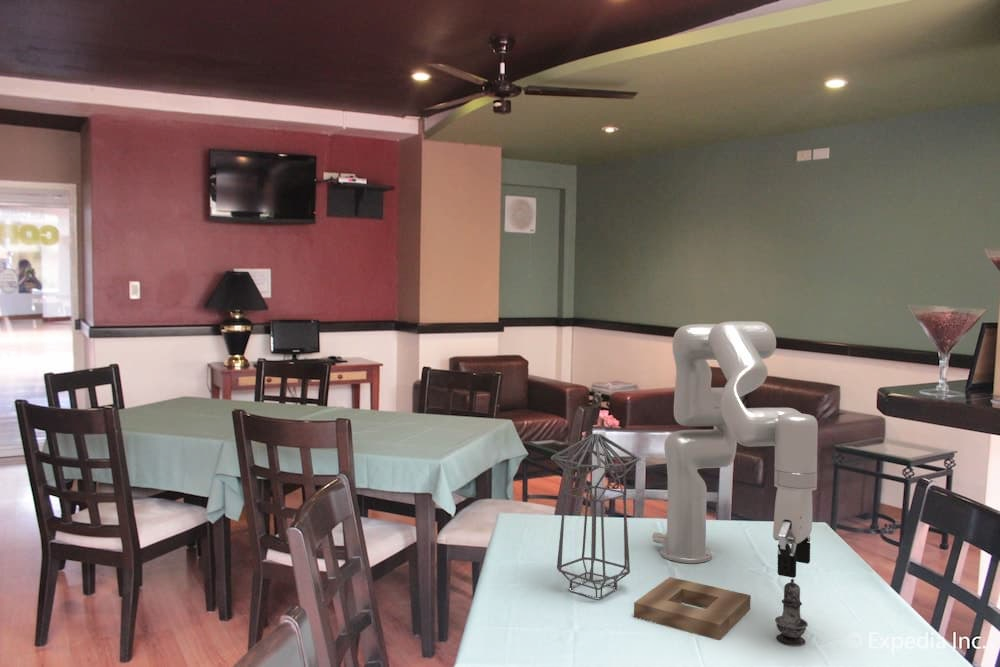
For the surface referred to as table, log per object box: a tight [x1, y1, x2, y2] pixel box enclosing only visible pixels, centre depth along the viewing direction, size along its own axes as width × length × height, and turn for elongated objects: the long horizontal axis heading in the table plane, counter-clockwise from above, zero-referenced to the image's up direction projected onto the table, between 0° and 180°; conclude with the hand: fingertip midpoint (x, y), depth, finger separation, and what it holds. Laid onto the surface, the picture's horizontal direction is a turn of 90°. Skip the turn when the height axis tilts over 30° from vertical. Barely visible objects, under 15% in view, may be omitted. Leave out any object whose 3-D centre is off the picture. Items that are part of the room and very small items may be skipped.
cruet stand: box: [633, 576, 752, 641], centre depth 164 cm, size 18×18×3 cm
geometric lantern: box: [550, 433, 642, 599], centre depth 176 cm, size 16×16×35 cm
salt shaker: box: [774, 578, 809, 647], centre depth 152 cm, size 6×6×12 cm
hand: (794, 568), depth 151 cm, fingers open, 9 cm apart
